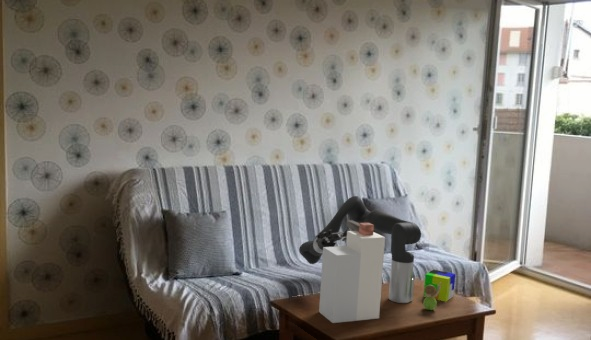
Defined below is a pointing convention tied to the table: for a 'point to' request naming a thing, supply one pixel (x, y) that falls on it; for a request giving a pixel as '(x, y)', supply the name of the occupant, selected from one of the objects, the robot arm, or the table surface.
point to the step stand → (352, 278)
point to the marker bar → (361, 227)
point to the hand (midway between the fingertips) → (339, 231)
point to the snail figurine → (431, 296)
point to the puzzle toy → (446, 284)
